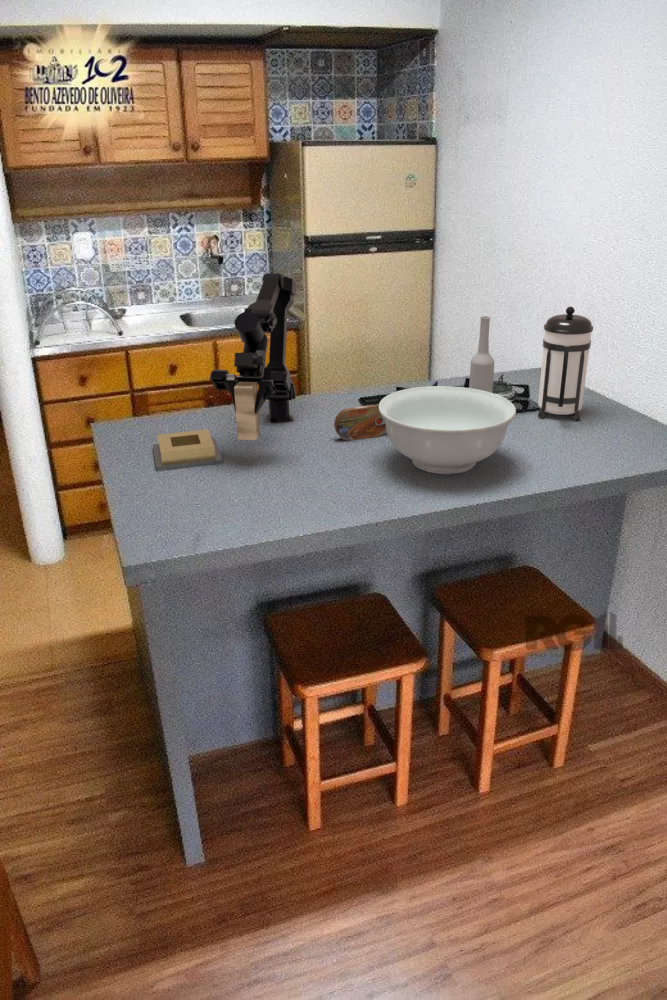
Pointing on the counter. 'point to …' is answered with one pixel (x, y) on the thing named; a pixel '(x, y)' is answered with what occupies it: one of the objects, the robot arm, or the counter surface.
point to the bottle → (482, 361)
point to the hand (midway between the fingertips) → (245, 412)
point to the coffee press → (564, 364)
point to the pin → (246, 410)
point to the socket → (186, 450)
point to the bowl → (446, 425)
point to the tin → (360, 423)
